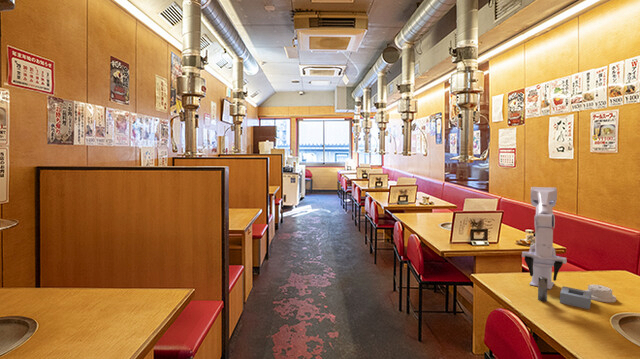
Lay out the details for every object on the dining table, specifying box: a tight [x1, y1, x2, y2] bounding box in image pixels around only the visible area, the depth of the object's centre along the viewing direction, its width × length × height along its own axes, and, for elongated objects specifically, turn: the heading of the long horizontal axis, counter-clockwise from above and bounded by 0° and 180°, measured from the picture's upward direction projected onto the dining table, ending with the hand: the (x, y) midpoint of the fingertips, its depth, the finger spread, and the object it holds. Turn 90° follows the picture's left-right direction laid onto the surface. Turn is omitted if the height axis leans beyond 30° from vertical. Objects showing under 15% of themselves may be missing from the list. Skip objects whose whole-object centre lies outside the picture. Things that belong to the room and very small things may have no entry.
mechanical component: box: [584, 283, 617, 303], centre depth 132 cm, size 10×4×10 cm
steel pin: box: [537, 277, 548, 302], centre depth 130 cm, size 3×3×9 cm
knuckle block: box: [559, 285, 592, 310], centre depth 127 cm, size 9×9×4 cm
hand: (542, 277), depth 129 cm, fingers open, 7 cm apart
